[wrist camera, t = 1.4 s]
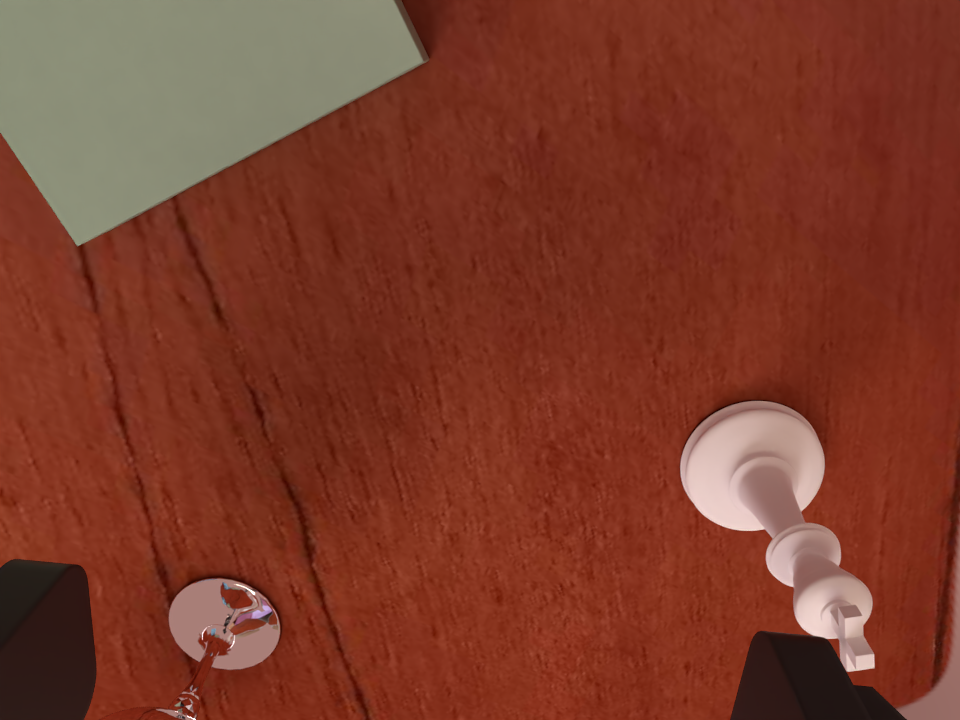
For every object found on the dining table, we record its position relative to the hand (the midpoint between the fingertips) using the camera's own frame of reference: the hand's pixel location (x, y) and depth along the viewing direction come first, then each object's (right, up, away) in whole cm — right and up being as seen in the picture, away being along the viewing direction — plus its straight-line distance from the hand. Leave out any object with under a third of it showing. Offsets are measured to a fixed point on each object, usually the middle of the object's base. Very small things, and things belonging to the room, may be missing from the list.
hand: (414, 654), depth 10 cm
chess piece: (+10, 0, +19) cm, 22 cm away
